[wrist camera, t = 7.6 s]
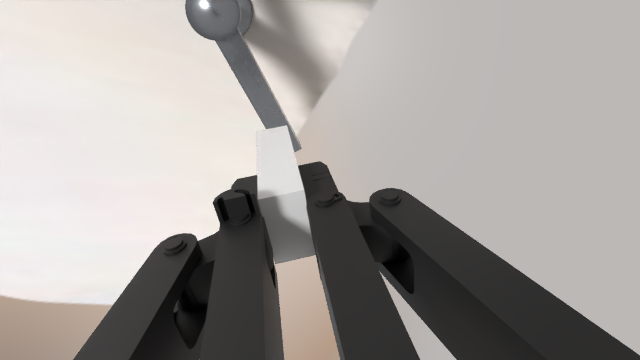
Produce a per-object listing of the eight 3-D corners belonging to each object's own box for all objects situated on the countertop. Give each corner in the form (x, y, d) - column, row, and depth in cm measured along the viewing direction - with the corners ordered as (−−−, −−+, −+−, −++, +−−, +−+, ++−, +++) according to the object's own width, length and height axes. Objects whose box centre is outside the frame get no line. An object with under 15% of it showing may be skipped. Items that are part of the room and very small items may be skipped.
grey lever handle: (115, -139, 25) (53, -205, 18) (156, -163, 25) (112, -240, 17) (269, 131, 37) (273, 163, 29) (299, 116, 37) (311, 145, 29)
